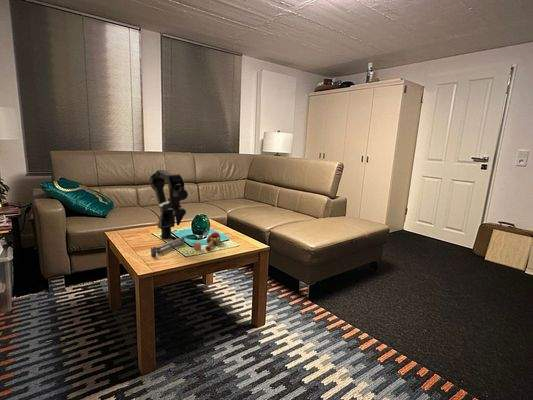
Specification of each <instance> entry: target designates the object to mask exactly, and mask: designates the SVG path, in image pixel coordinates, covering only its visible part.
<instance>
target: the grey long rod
mask: <svg viewBox="0 0 533 400" xmlns="http://www.w3.org/2000/svg"><path fill="white" fill-rule="evenodd" d="M185 239H186V237H184V236H182V237H179V238H175V239H173V240H172V241H168V242H166V243H164V244H160V245H158V246H155V247H156V254H158V255H159V254H161V253H164V252H166V251H168V250H171V249H174V248H176V247H178V246H180V245H182V244H184V243H185V242H186V241H185Z"/></svg>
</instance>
